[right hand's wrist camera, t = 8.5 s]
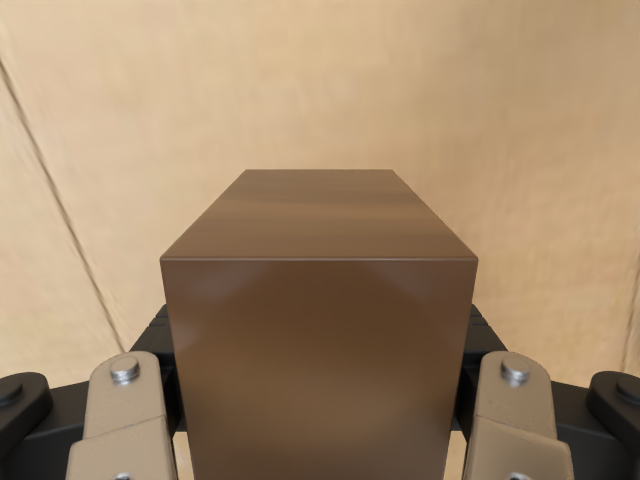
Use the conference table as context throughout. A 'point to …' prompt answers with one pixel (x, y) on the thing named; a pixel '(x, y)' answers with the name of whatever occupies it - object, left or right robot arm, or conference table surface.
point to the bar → (318, 328)
